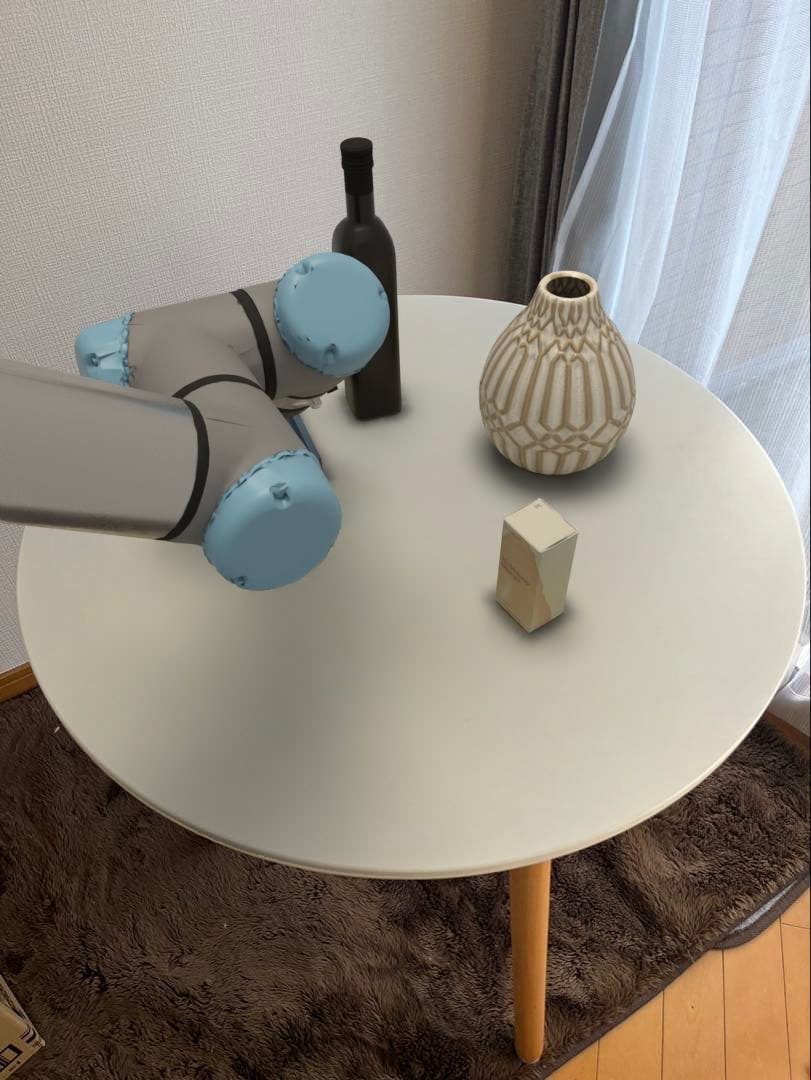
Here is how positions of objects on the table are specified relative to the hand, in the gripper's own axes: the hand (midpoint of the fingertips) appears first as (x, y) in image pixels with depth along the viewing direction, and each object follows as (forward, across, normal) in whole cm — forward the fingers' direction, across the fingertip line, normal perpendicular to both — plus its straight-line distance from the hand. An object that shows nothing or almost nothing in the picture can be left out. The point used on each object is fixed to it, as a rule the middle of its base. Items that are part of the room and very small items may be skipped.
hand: (237, 414), depth 90 cm
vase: (-4, +29, -16) cm, 34 cm away
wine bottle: (+8, +17, -4) cm, 20 cm away
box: (-16, +14, -28) cm, 35 cm away
